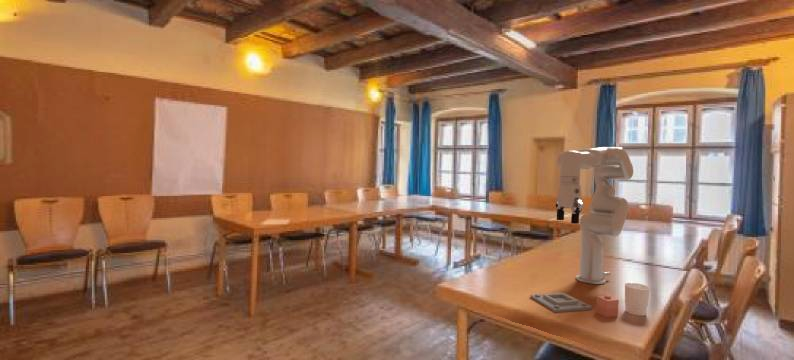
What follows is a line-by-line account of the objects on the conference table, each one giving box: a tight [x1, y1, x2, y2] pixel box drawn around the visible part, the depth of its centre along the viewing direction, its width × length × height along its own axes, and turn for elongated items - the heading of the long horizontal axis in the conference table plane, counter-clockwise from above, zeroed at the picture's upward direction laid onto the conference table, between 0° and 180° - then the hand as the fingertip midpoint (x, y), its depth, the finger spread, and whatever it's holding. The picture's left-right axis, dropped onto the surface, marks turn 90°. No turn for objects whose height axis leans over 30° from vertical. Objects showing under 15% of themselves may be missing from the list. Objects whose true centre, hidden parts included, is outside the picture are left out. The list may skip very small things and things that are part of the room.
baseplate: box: [529, 291, 593, 313], centre depth 155 cm, size 16×16×2 cm
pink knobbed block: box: [595, 294, 619, 318], centre depth 144 cm, size 5×5×7 cm
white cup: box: [624, 282, 651, 317], centre depth 146 cm, size 8×8×10 cm
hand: (567, 221), depth 165 cm, fingers open, 9 cm apart
